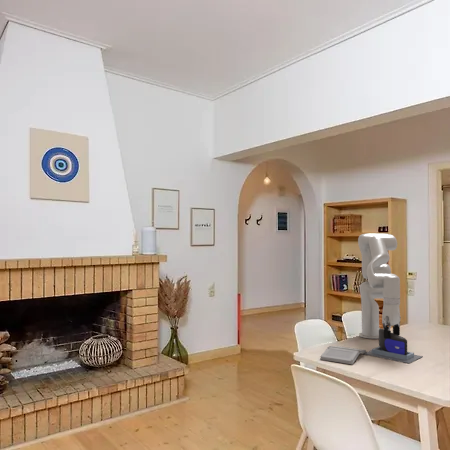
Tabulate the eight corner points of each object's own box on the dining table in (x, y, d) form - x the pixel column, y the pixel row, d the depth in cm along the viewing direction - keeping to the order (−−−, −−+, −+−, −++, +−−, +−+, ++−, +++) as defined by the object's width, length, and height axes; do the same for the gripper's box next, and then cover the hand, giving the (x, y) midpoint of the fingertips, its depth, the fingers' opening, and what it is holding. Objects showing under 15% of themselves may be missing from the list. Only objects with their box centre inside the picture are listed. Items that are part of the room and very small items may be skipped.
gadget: (336, 349, 210) (336, 341, 210) (366, 353, 201) (366, 345, 201) (319, 359, 191) (319, 351, 191) (352, 365, 182) (352, 356, 182)
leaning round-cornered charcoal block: (374, 347, 205) (373, 329, 204) (380, 345, 207) (380, 327, 206) (401, 360, 191) (401, 341, 189) (408, 357, 193) (408, 338, 191)
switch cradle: (378, 348, 212) (378, 344, 212) (422, 357, 196) (422, 352, 196) (363, 354, 201) (363, 349, 201) (408, 363, 185) (408, 358, 185)
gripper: (391, 298, 208) (392, 332, 208) (375, 302, 196) (376, 338, 196) (406, 300, 203) (407, 335, 203) (391, 304, 191) (391, 341, 191)
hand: (391, 336), depth 199 cm, fingers open, 9 cm apart
